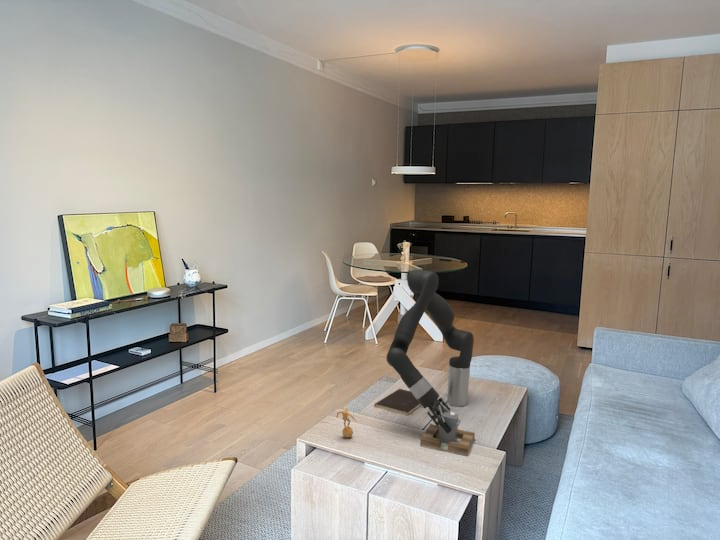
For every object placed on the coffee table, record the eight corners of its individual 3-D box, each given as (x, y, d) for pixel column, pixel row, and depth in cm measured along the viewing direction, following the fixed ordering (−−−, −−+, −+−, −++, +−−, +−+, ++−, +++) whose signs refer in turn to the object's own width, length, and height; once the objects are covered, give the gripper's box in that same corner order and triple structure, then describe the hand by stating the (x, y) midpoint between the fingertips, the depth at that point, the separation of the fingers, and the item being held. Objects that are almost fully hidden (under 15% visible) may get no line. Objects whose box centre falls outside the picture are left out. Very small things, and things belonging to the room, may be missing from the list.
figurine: (359, 437, 191) (361, 406, 189) (352, 444, 185) (353, 412, 184) (340, 432, 194) (341, 402, 193) (332, 438, 189) (333, 407, 188)
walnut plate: (430, 430, 200) (430, 423, 200) (474, 439, 194) (474, 432, 193) (420, 445, 186) (420, 439, 186) (466, 456, 180) (467, 449, 180)
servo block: (438, 436, 193) (440, 408, 192) (459, 440, 190) (461, 412, 189) (435, 441, 189) (437, 412, 188) (457, 445, 186) (459, 416, 185)
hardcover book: (429, 400, 233) (429, 395, 233) (407, 416, 214) (407, 411, 213) (398, 393, 241) (398, 388, 241) (374, 408, 222) (374, 402, 222)
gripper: (426, 392, 184) (456, 429, 181) (435, 381, 197) (463, 415, 194) (411, 404, 186) (440, 440, 183) (421, 392, 199) (448, 425, 197)
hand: (452, 427), depth 189 cm, fingers open, 8 cm apart
